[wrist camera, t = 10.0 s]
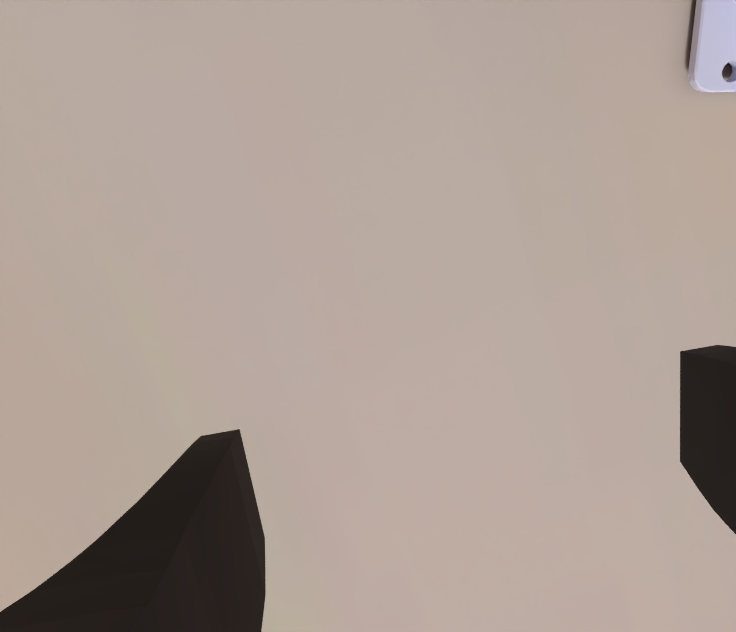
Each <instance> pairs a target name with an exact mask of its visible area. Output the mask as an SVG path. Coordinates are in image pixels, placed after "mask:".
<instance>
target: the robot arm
mask: <svg viewBox="0 0 736 632" xmlns="http://www.w3.org/2000/svg"><path fill="white" fill-rule="evenodd" d="M727 63H730V65H731V66H732V74H731V77H730V78H729V79H728V80H727V81H725V80H724V79H723V78H722V70H723V67H724V66H725V65H726V64H727ZM688 77H689V82H690V84H691V86H692V87H693V88H694V89H695V90H697V91H701V92H736V0H697V1H696V10H695V18H694V27H693V36H692V45H691V53H690V62H689V71H688ZM680 462H681V463H682V465H683V466H684V468H685V469H686V471H687V472H688V474H689V475H690V477H691V478H692V480H693V481H694V483H695V485H696V486H697V488H698V489H699V490H700V492H701V493H702V495H703V496H704V497H705V499H706V500H707V501H708V503H709V504H710V506H711V507H712V508H713V510H714V511H715V512H716V513H717V514H718V515H719V516H720V518H721V519H722V520H723V521H724V522H725V523H726V524H727V525H728V526H729V528H730V529H731V530H732V531H733V532H734V533H735V534H736V347H731V346H721V345H715V346H709V347H703V348H698V349H692V350H686V351H681V352H680ZM264 602H265V537H264V533H263V529H262V524H261V520H260V516H259V511H258V507H257V503H256V498H255V494H254V490H253V485H252V481H251V477H250V473H249V468H248V464H247V460H246V455H245V451H244V447H243V442H242V438H241V434H240V429H239V430H233V431H227V432H222V433H216V434H210V435H205V436H201V437H200V438H198V439H197V440H196V441H195V442H194V443H193V444H192V445H191V446H190V447H189V448H188V449H187V450H186V451H185V452H184V453H183V454H182V456H181V457H180V458H179V459H178V460H177V461H176V462H175V463H174V464H173V465H172V466H171V467H170V468H169V469H168V471H167V472H166V473H165V474H164V475H163V476H162V477H161V478H160V479H159V480H158V481H157V482H156V483H155V484H154V485H153V486H152V487H151V488H150V489H149V490H148V491H147V492H146V493H145V495H144V496H143V497H142V498H141V499H140V500H139V501H138V502H137V503H136V504H134V505H133V506H132V507H131V508H130V509H129V510H128V511H127V512H126V513H125V514H124V515H123V516H122V517H121V518H120V519H118V520H117V521H116V522H115V523H114V524H113V525H112V526H111V527H110V528H109V529H108V530H107V531H106V532H105V533H104V534H102V535H101V536H100V537H99V538H98V539H97V540H96V541H95V542H94V543H92V544H91V545H90V546H89V547H88V548H87V549H85V550H84V551H83V552H82V553H81V554H79V555H78V556H77V557H76V558H75V559H73V560H72V561H71V562H70V563H68V564H67V565H66V566H64V567H63V568H62V569H60V570H59V571H58V572H57V573H55V574H54V575H53V576H51V577H50V578H49V579H47V580H46V581H45V582H44V583H42V584H41V585H39V586H38V587H37V588H35V589H34V590H33V591H31V592H30V593H28V594H27V595H25V596H24V597H22V598H21V599H19V600H18V601H16V602H15V603H13V604H12V605H10V606H9V607H7V608H6V609H4V610H3V611H1V612H0V632H261V628H262V620H263V611H264Z"/></svg>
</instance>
